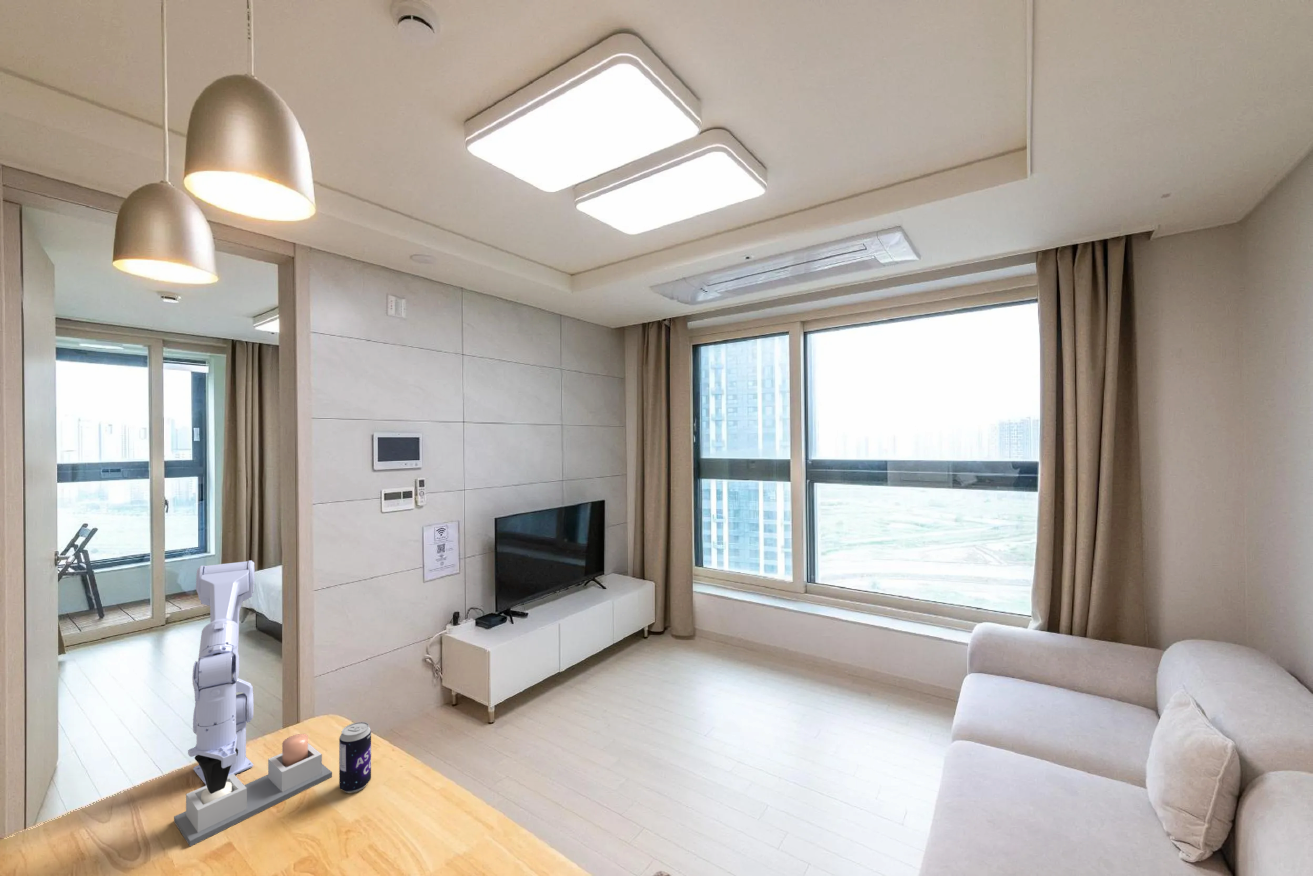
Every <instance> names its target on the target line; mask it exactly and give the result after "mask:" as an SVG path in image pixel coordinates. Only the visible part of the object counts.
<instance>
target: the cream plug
mask: <svg viewBox="0 0 1313 876" xmlns="http://www.w3.org/2000/svg"><path fill="white" fill-rule="evenodd" d="M231 792H232V784H231V783H230V782H226V785H225V788H223V789H221V790H219V791H217V792H214V793H212V794H211V793H210V792H209V791H208V788H206V789H205V790H204V791H203V792H202V793H201V802H202V804H203V805H204V804H206V803H208V802H211V801H213V800H215V799H217V798H220V797H222V796H224V795H226V794H228V793H231Z"/></svg>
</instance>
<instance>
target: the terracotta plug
mask: <svg viewBox="0 0 1313 876" xmlns="http://www.w3.org/2000/svg"><path fill="white" fill-rule="evenodd" d="M308 743H309V736H308V735H307V734H305V733H299V734H294V735H291V736H289V737H287V738H285V739H284V740H283V741H282V743H281V745H282V749H281V750H282V752H281V753H282V764H283V765H284V766H286V767H289V766H291V765H293V764H295V763H298V762H300V761H302V760H304V759H306V758H308Z"/></svg>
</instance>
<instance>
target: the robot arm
mask: <svg viewBox="0 0 1313 876" xmlns="http://www.w3.org/2000/svg"><path fill="white" fill-rule="evenodd" d="M195 586H196V587H195V588H196V593H197V597H198V600H199V601H200V603H201V605H204V606H208V607H210V608H209V612H210V613H209V615H210V619H209V620H210V622H209V623H208V624H207V625H205V626H204V627H203V629H202V630H201V635H200V642H199V643H200V644H199V651H198V660H197V661H194V664H193V666H192V686H193V687H192V688H193V692H194V702H195V703H194V710H193V719H192V731H193V733H194V734H195V735H196V743H195V747H192V748H190V749H187V755H188V756H189V757H190V758H192V757H193V758H194V759H195V761H196V762H197V765H195V766H194V767H193V771H194V773H196V775H197V776H198V777H199V779H200V780H201V781H202V782H203V784H204V786H206V785H207V788H208V791H209V792H210V793H211V794H212V793H214V792H217V791H219V790H221V789H223V788H225V785H226V782H227V778H228V776H230V775H232V774H234V775H235V776H236V775H237V774H240V773H242V772H245V771H247V770H248V769H252V768H253V767H254V763H253V762H252V761H251V760H250V759H249V758H248V757H247V723H250V722H251V721H252V720H253V719H254V707H255V705H254V703H255V700H254V696H255V695H254V686H253V685H252V683H251V682H249V681H246V680H244V679H242V678H239V676H240V653H239V642H240V641H239V637H240V612H241V611H240V610H241V608H242V606H243V603H244V602H245V601H246V600H249V599H251V598H252V597H253V594H254V592H255V562H254V561H253V560H248V561H238V562H229V563H219V564H210V565H200V566H199V567H198V568H197V569H196V576H195ZM237 693H238V694H237Z"/></svg>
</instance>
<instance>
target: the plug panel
mask: <svg viewBox="0 0 1313 876" xmlns="http://www.w3.org/2000/svg"><path fill="white" fill-rule="evenodd" d="M267 766H268V767H267V768H268V769H267V770H268V773H267V774H266V775H263V776H261V777H259V778H257V779H255V780H252V781H251V782H248V783H246V784H244V783H243V782H242V781H241V780H240V779H239V777H237V776H236V774H235V775H234V774H232V775H230V776H228V778H227V782H230V783H231V784H232V792H231V793H228V794H226V795H224V796H222V797H220V798H217V799H215V800H213V801H211V802H208V803H206V804H204V805H203V804H202V802H201V793H202V792H203V791H204V790H205V789H206V788H207V785H204V786H201V787H200V788H197V789H195V790H192V791H190V792H188V793H186V794H185V811H183V812H181V813H178V814H176V815H174V816H173V822H174V824H175V825H176V828H177V829H178V830H179V832H180V833H181V834H182V837H183V838H184V840H185V841H186V843H187V845H188V846H189V847H192V846H193V845H194V846H195V845H196V844H198V843H200V842H202V841H204V840H206V839H209V838H211V837H213V836H214V835H216V834H219V833H221V832H223V831H225V830H227V829H229V828H231V827H233V826H236V825H237V824H239V823H242V821H245V820H246V819H250V818H251V817H253V816H255V815H257V814H259V813H261V812H263V811H265V810H267V809H269V808H271V807H273V806H275V805H278V804H279V803H282V802H283V801H286V800H287V799H290V798H292V797H294V796H296V795H297V794H300V793H302V792H304V791H306V790H308V789H310V788H312V787H315V786H316V785H318V784H321V783H322V782H325V781H327V780H329V779H330V778H332V777H333V772H332V771H331V770H330V769H329V768H328V767H327V766H325V765H324V764H323V754H322V753H321V752H320V751H318V750H317V749H316V748H315V747H314V746H312V745H311V744H310V743H309V742H308V758H306V759H304V760H302V761H300V762H298V763H295V764H293V765H291V766H289V767H286V766H284V765H283V764H282V752H281V753H279V754H277V755H275V756H272V757H270V758H268V763H267Z"/></svg>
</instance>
